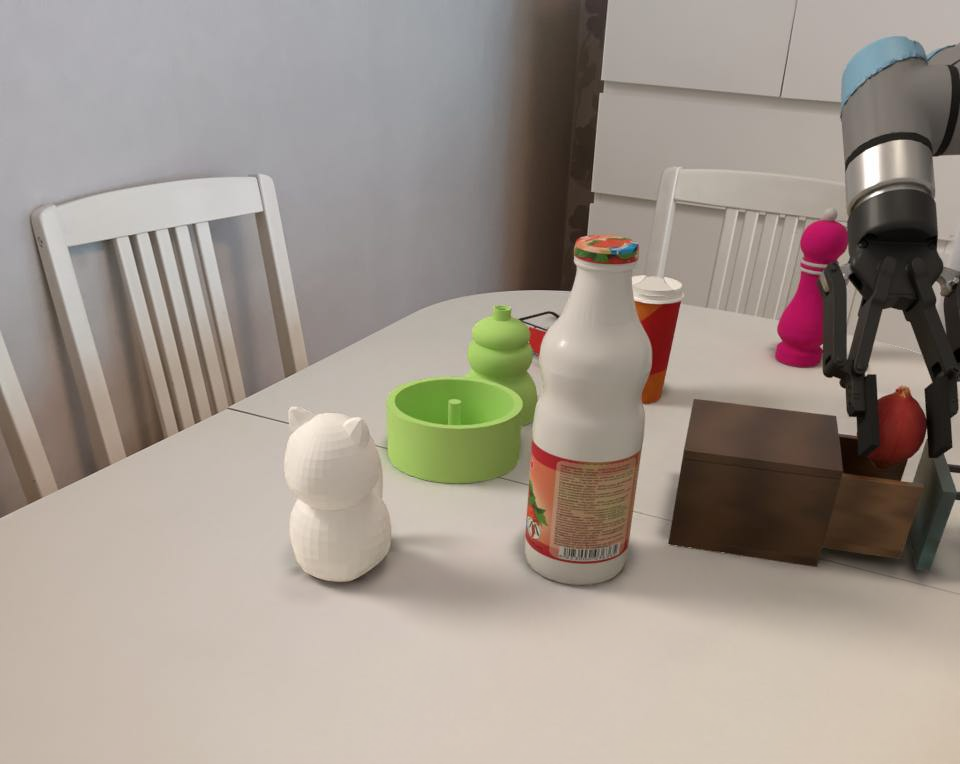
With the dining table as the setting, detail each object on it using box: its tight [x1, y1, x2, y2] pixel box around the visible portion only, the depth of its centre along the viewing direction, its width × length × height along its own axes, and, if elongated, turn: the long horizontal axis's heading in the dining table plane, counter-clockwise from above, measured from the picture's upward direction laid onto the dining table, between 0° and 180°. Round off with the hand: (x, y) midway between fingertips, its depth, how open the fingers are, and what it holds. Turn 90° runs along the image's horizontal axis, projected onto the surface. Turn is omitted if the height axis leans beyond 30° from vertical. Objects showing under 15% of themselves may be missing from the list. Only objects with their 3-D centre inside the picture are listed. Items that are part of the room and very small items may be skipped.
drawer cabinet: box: [667, 398, 843, 567], centre depth 93 cm, size 14×13×10 cm
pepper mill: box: [774, 207, 848, 368], centre depth 130 cm, size 7×7×20 cm
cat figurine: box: [283, 405, 392, 583], centre depth 84 cm, size 9×12×15 cm
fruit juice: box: [524, 234, 652, 586], centre depth 81 cm, size 9×9×28 cm
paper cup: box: [632, 274, 686, 405], centre depth 119 cm, size 8×8×14 cm
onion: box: [855, 385, 927, 469], centre depth 87 cm, size 6×6×8 cm
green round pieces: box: [385, 304, 538, 484], centre depth 108 cm, size 25×15×13 cm, turn 157°
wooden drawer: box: [822, 433, 960, 572], centre depth 91 cm, size 18×12×8 cm, turn 76°
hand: (904, 451), depth 85 cm, fingers closed on onion, 6 cm apart
